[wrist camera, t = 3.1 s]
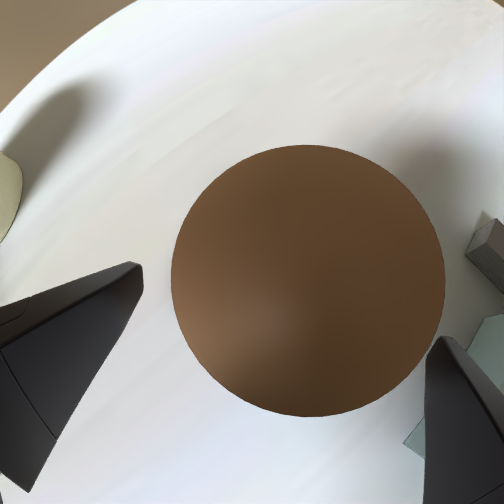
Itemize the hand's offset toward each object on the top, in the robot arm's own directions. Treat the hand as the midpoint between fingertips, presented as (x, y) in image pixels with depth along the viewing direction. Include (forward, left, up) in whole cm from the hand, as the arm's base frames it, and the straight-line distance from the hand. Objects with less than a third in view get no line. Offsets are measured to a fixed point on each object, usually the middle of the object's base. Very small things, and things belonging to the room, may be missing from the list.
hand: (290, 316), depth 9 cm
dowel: (0, 0, -8) cm, 8 cm away
